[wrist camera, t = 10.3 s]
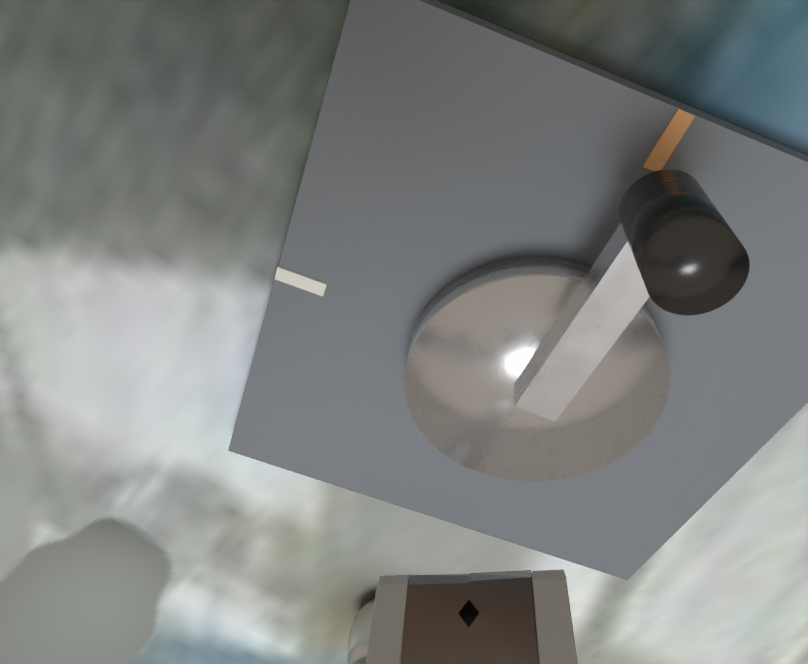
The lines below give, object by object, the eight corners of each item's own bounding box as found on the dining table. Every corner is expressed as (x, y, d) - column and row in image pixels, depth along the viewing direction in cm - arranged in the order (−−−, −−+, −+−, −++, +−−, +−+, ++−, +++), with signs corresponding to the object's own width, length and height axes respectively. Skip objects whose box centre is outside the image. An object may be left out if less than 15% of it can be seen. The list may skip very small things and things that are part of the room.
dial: (576, 480, 35) (594, 595, 29) (375, 406, 34) (351, 512, 28) (804, 213, 25) (897, 308, 19) (532, 90, 24) (545, 155, 18)
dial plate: (236, 432, 38) (227, 452, 37) (364, -31, 24) (356, -26, 22) (623, 559, 41) (627, 581, 40) (956, 217, 26) (980, 234, 25)
